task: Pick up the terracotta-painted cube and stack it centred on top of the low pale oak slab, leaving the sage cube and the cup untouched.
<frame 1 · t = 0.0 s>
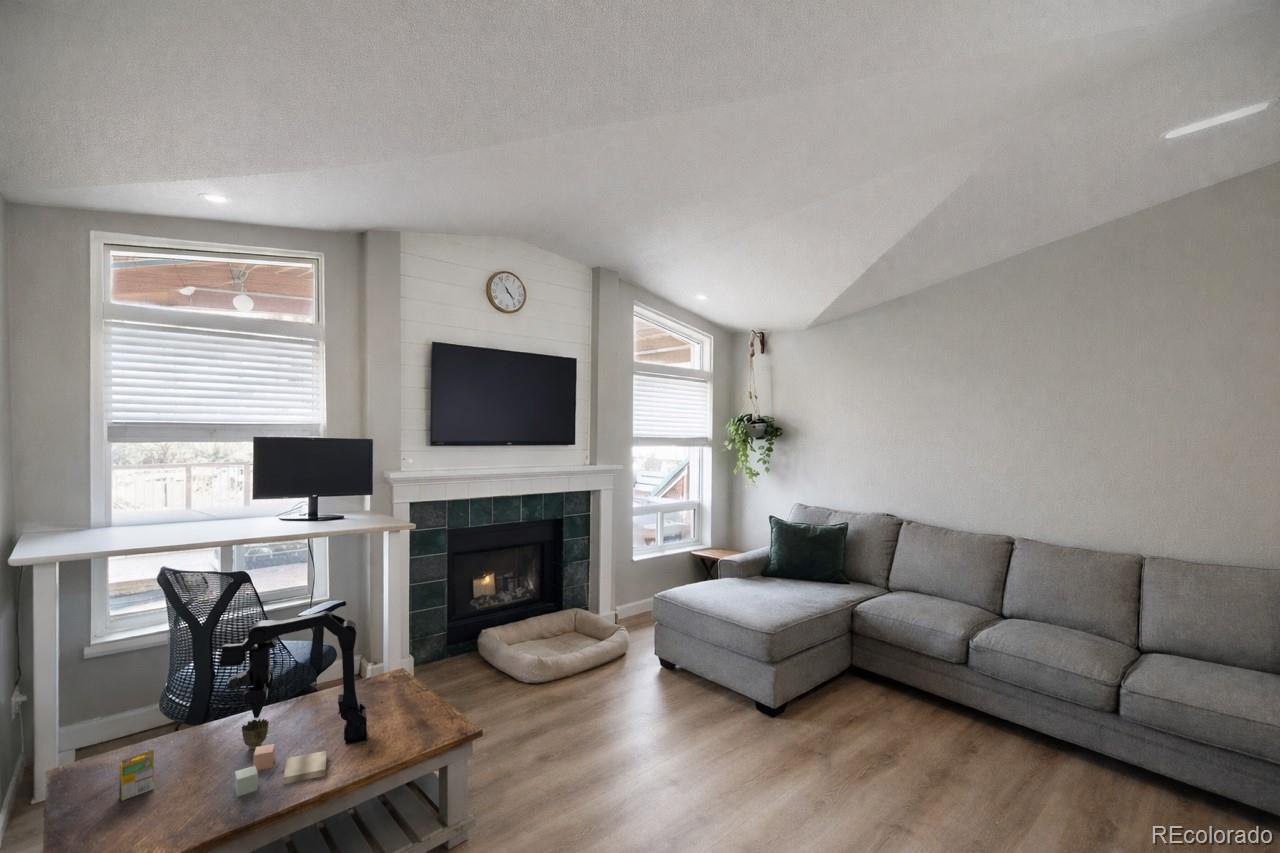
hand: (258, 711, 191), 15 cm above the table, fingers open, 9 cm apart
terracotta cube: (264, 765, 187), on the table
crayon box: (136, 793, 172), on the table
cup: (255, 748, 196), on the table
plinth: (305, 771, 185), on the table
sage cube: (246, 789, 175), on the table
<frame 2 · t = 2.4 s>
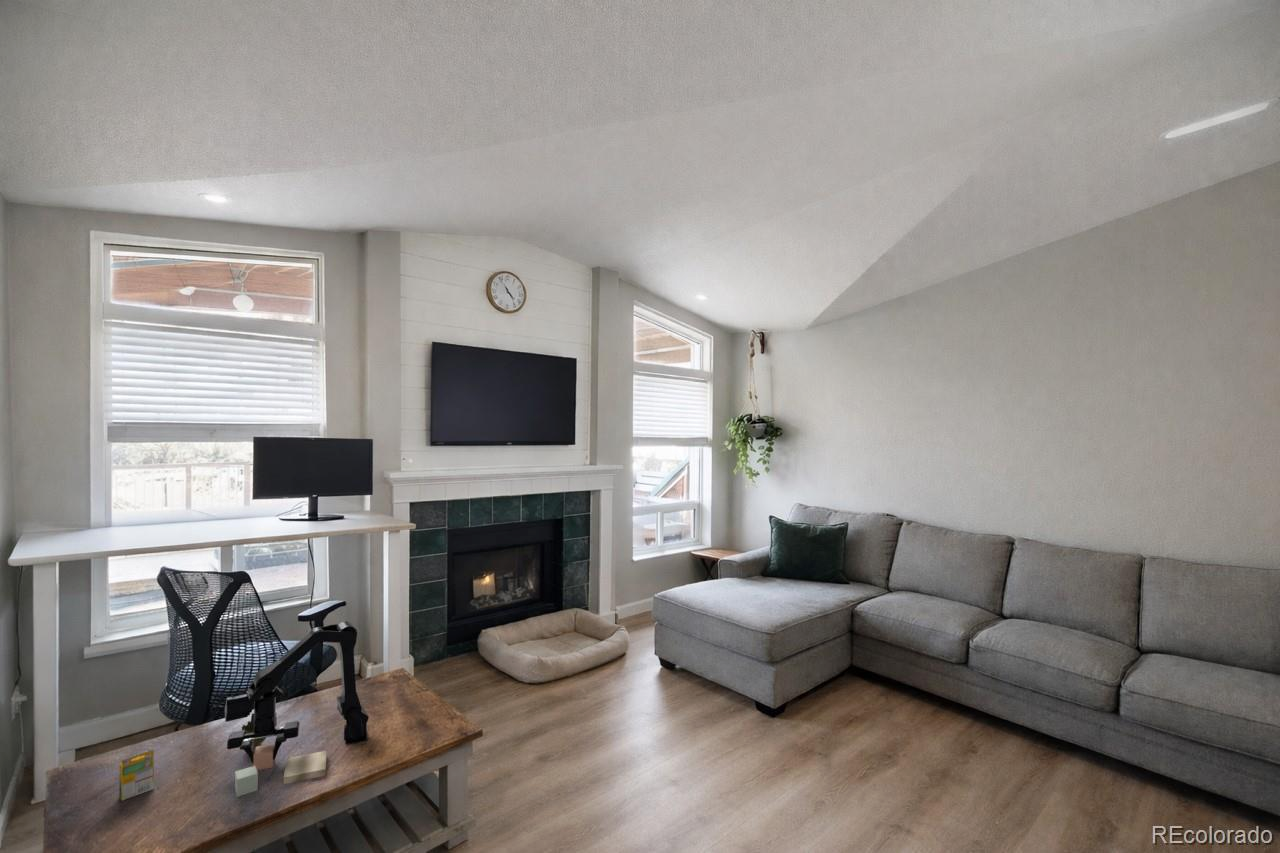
hand: (264, 761, 187), 1 cm above the table, fingers closed on terracotta cube, 5 cm apart
terracotta cube: (264, 764, 187), on the table, touching gripper
everything else where it was.
when the fingers open (4 cm above the table, at t = 7.1 s): terracotta cube drops 2 cm, resting on plinth.
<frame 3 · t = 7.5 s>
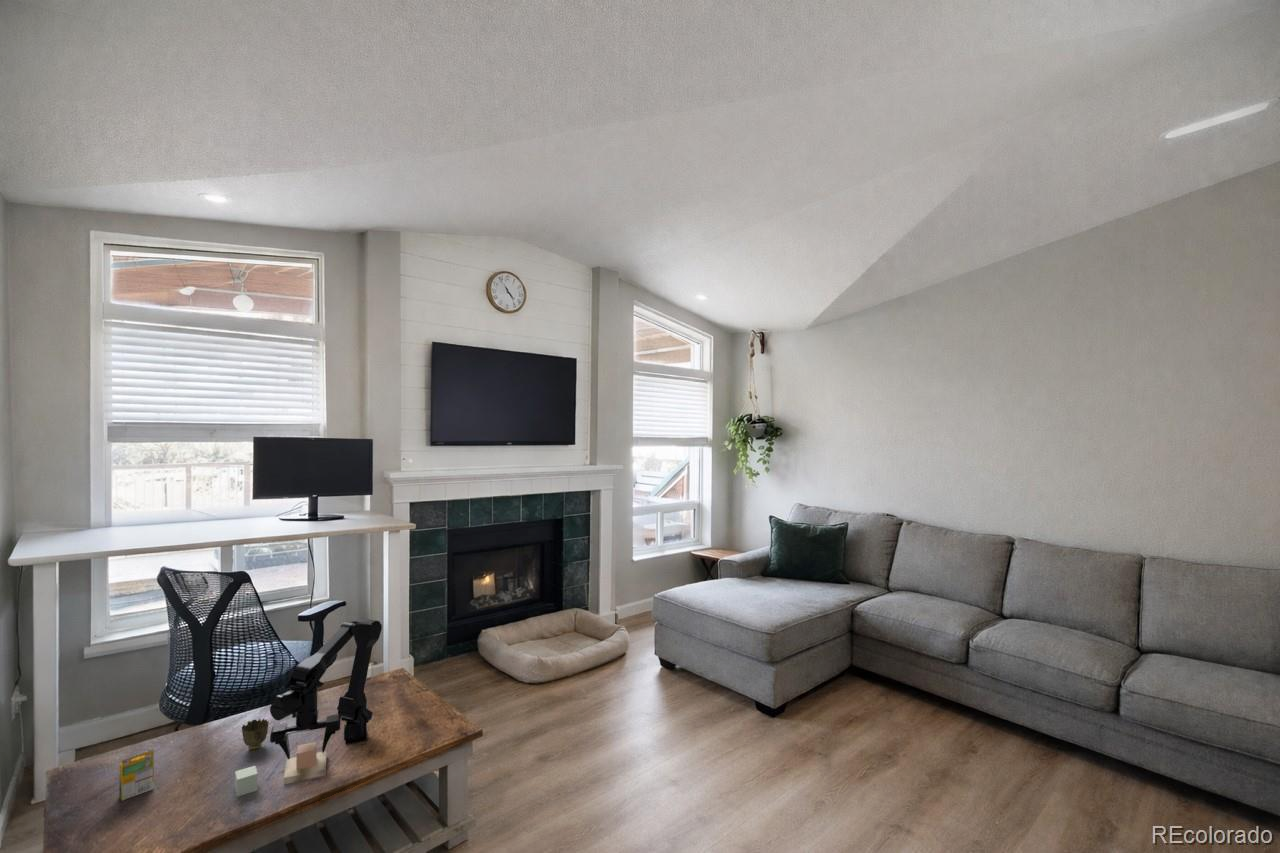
hand: (306, 755, 185), 4 cm above the table, fingers open, 9 cm apart
terracotta cube: (306, 763, 185), point 2 cm above the table, touching plinth
plinth: (305, 771, 185), on the table, touching terracotta cube
everything else where it was.
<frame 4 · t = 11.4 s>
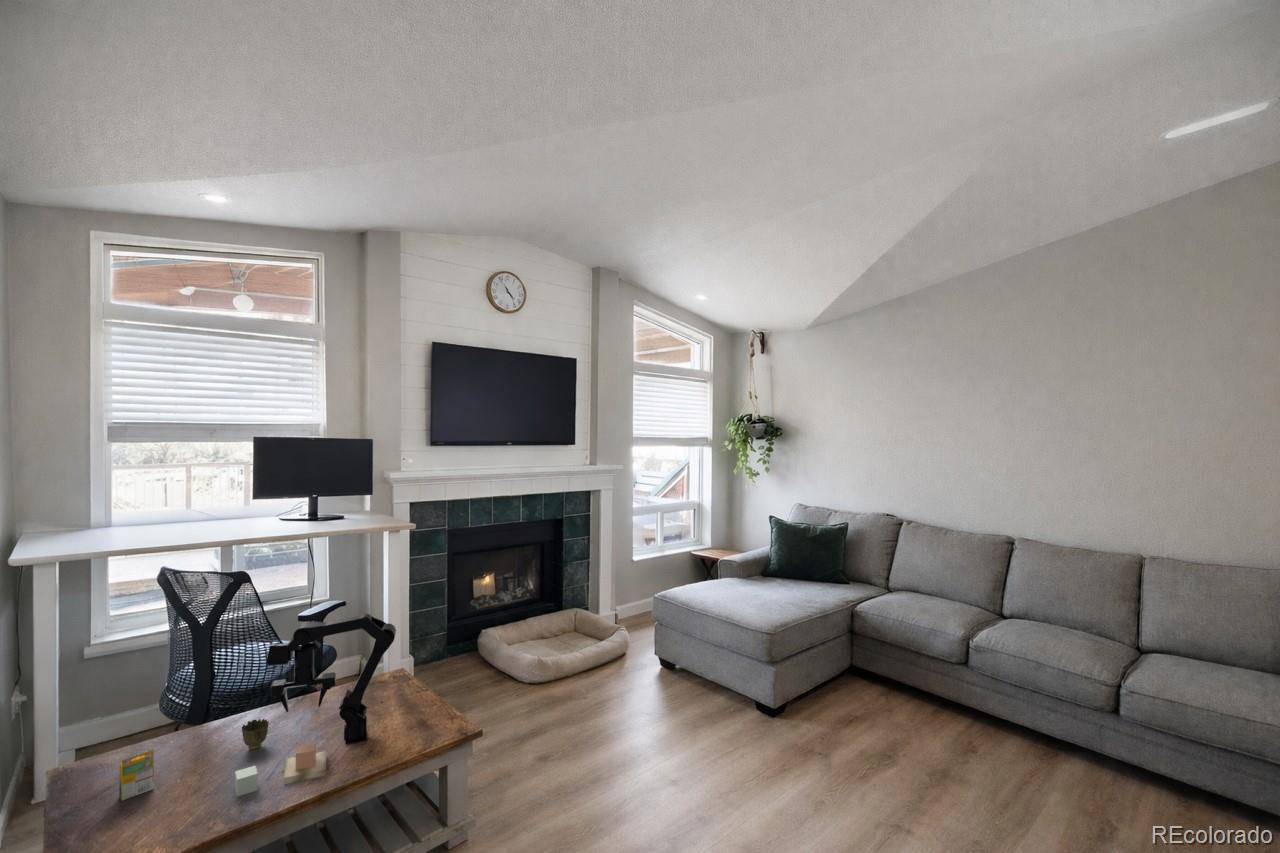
hand: (303, 709, 198), 12 cm above the table, fingers open, 9 cm apart
nothing on the table moved.
at the end: terracotta cube inside the target area on the plinth (0.3 cm from its centre), point 2.5 cm above the plinth's base; terracotta cube tilted 0°; the gripper is holding nothing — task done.
